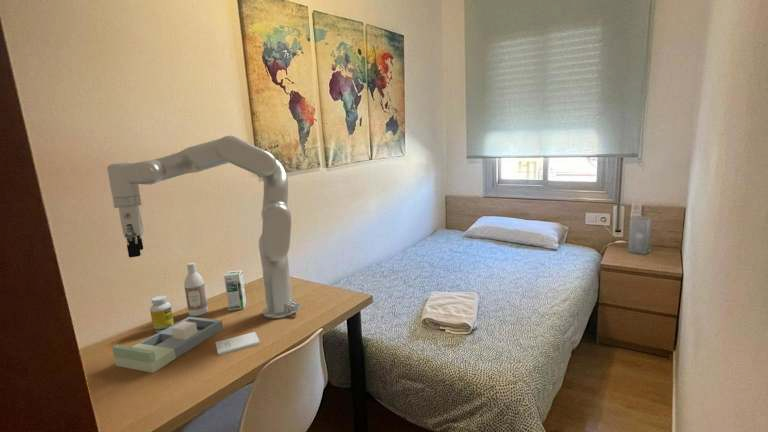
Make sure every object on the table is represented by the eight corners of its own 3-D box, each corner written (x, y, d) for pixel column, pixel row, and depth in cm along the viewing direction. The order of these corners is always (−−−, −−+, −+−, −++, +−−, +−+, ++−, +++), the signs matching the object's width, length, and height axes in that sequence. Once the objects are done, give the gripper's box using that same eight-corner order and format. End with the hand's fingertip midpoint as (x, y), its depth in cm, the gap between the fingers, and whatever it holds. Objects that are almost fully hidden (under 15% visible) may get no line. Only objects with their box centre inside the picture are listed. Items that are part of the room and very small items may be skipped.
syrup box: (228, 311, 154) (223, 275, 152) (232, 305, 160) (227, 270, 157) (243, 309, 155) (238, 273, 152) (246, 303, 161) (242, 269, 158)
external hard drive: (260, 346, 126) (218, 357, 121) (255, 335, 134) (215, 345, 128) (259, 341, 126) (217, 352, 121) (255, 331, 133) (215, 341, 128)
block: (197, 332, 130) (195, 322, 130) (185, 339, 126) (183, 329, 125) (185, 331, 132) (184, 321, 131) (173, 338, 127) (171, 328, 127)
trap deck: (223, 328, 139) (220, 312, 138) (152, 372, 113) (149, 353, 112) (190, 324, 144) (187, 308, 143) (115, 365, 118) (112, 347, 117)
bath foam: (186, 317, 150) (178, 267, 147) (191, 310, 157) (183, 262, 153) (206, 315, 152) (198, 264, 148) (210, 308, 158) (202, 259, 155)
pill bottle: (165, 333, 138) (160, 301, 136) (149, 332, 140) (143, 301, 138) (178, 324, 145) (173, 294, 142) (163, 324, 146) (157, 294, 144)
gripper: (138, 203, 121) (147, 257, 124) (143, 197, 137) (151, 246, 140) (109, 206, 118) (119, 261, 121) (117, 200, 133) (126, 249, 136)
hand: (136, 253), depth 130 cm, fingers open, 9 cm apart
